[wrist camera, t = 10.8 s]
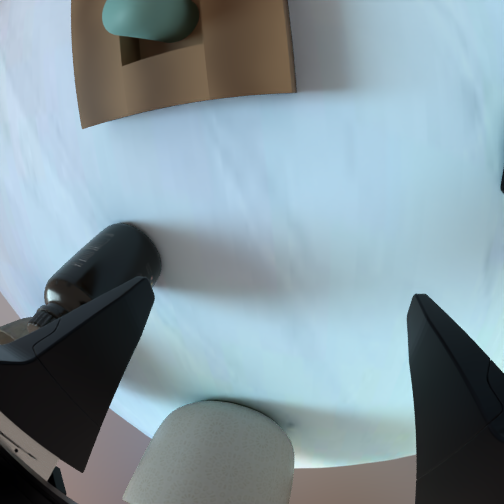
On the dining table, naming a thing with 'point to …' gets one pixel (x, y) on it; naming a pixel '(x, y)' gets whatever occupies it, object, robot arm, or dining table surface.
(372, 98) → the dining table surface
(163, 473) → the planter
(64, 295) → the supplement bottle
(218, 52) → the bore block
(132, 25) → the pin
